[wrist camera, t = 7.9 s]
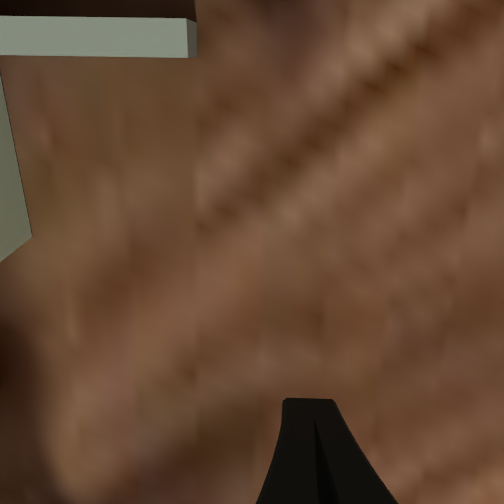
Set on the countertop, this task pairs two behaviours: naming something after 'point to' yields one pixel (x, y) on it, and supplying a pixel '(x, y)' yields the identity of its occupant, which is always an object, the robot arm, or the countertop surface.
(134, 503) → the countertop surface
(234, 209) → the countertop surface
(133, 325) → the countertop surface
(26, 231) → the deck mount
